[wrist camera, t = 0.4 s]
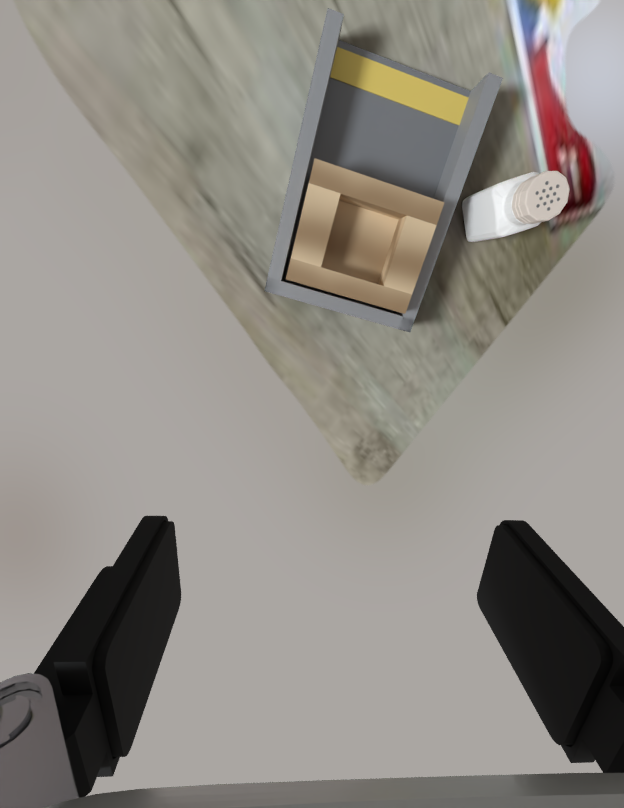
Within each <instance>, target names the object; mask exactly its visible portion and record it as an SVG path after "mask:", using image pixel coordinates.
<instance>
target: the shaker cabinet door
mask: <svg viewBox="0 0 624 808" xmlns="http://www.w3.org/2000/svg"><path fill="white" fill-rule="evenodd" d="M444 203H445V202H442V201H439V200H436V199H433V198H430V197H427V196H424V195H421V194H418V193H415V192H412V191H409V190H406V189H404V188H401V187H398V186H395V185H392V184H389V183H386V182H383V181H380V180H377V179H374V178H371V177H368V176H365V175H362V174H360V173H357V172H354V171H351V170H348V169H345V168H342V167H339V166H336V165H333V164H330V163H327V162H324V161H321V160H318V159H316V158H315V159H314V163H313V167H312V171H311V176H310V180H309V184H308V188H307V192H306V196H305V201H304V205H303V209H302V213H301V217H300V222H299V226H298V230H297V234H296V238H295V242H294V247H293V251H292V255H291V259H290V263H289V267H288V272H287V276H286V279H287V280H290V281H294V282H297V283H300V284H304V285H307V286H311V287H314V288H318V289H321V290H325V291H328V292H331V293H335V294H338V295H342V296H345V297H349V298H352V299H355V300H359V301H362V302H366V303H369V304H373V305H376V306H379V307H383V308H386V309H390V310H393V311H397V312H400V313H404V314H405V313H406V310H407V308H408V305H409V302H410V299H411V296H412V293H413V291H414V288H415V285H416V282H417V279H418V276H419V274H420V271H421V268H422V265H423V262H424V260H425V257H426V254H427V251H428V248H429V245H430V243H431V240H432V237H433V234H434V231H435V228H436V226H437V223H438V220H439V217H440V214H441V211H442V209H443V206H444Z"/></svg>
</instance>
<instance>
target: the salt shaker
mask: <svg viewBox="0 0 624 808" xmlns="http://www.w3.org/2000/svg"><path fill="white" fill-rule="evenodd" d="M569 190H570V188H569V185H568V182H567V179H566V177H565V176H563V175H562V174H561V173H559V172H558V171H545V172H542V173H540V174H539V173H536V172H531V173H528V174H524V175H521V176H518V177H515V178H512V179H509V180H507V181H504V182H501V183H498V184H496V185H493V186H491V187H489V188H486V189H484V190H482V191H480V192H477V193H475V194H473V195H471V196H468V197H467V198H465V199H464V200H463V202H462V211H463V218H464V225H465V232H466V238H467V240H468V241H469V242H477V241H483V240H489V239H495V238H500V237H505V236H508V235H512V234H515V233H518V232H521V231H524V230H527V229H530V228H533V227H536V226H538V225H539V224H540V223H541V222H544V221H549V220H550V219H552V218H553V217H555V216H557V215H558V214H560V212H561V211H562V209H563V208H564V206H565V205H566V203H567V201H568V196H569Z"/></svg>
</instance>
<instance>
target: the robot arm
mask: <svg viewBox="0 0 624 808" xmlns="http://www.w3.org/2000/svg"><path fill="white" fill-rule="evenodd" d="M179 578H180V577H179V567H178V558H177V547H176V536H175V526H174V522H169V521H168V519H167V517H166V516H144V517H143V518H142V520H141V521H140V523H139V525H138V526H137V528H136V530H135V531H134V533H133V535H132V536H131V538H130V539H129V541H128V542H127V544H126V546H125V547H124V549H123V551H122V552H121V554H120V555H119V557H118V559H117V560H116V562H115V564H114V565H113V566H111V567H110V566H109V567H108V566H107V567H105V568H103V569H102V570H101V572H100V573H99V574H98V576H97V577H96V579H95V580H94V582H93V583H92V585H91V586H90V588H89V589H88V591H87V593H86V594H85V596H84V597H83V599H82V600H81V602H80V603H79V605H78V607H77V608H76V610H75V611H74V613H73V614H72V616H71V617H70V619H69V620H68V622H67V623H66V625H65V626H64V628H63V630H62V631H61V633H60V634H59V636H58V637H57V639H56V640H55V642H54V643H53V645H52V646H51V648H50V650H49V651H48V653H47V654H46V656H45V657H44V659H43V660H42V662H41V663H40V665H39V666H38V668H37V670H36V671H35V673H34V674H32V673H27V674H23V675H18V676H14V677H12V678H9V679H7V680H5V681H2V682H0V808H624V627H623V626H622V625H621V623H620V622H619V621H618V620H617V619H616V618H615V617H614V616H613V615H612V614H611V613H610V612H609V611H608V609H607V608H606V607H605V606H604V605H603V604H602V603H601V602H600V601H599V600H598V599H597V598H596V596H595V595H594V594H593V593H592V592H591V591H590V590H589V589H588V588H587V587H586V586H585V585H584V584H583V583H582V581H581V580H580V579H579V578H578V577H577V576H576V575H575V574H574V573H573V572H572V571H571V570H570V568H569V567H568V566H567V565H566V564H565V563H564V562H563V561H562V560H561V559H560V558H559V557H558V556H557V554H555V552H554V551H553V550H552V549H551V548H550V547H549V546H548V545H547V544H546V543H545V541H544V540H543V539H542V538H541V537H540V536H539V535H538V534H537V533H536V532H535V531H534V530H533V529H532V527H531V526H530V525H529V524H528V523H527V522H525V521H516V520H515V521H514V520H505V521H502V522H501V524H500V525H499V526H496V528H495V530H494V534H493V537H492V541H491V545H490V548H489V553H488V556H487V560H486V563H485V567H484V570H483V574H482V578H481V581H480V585H479V589H478V592H477V600H478V604H479V607H480V609H481V611H482V613H483V614H484V616H485V618H486V620H487V621H488V624H489V625H490V627H491V629H492V631H493V633H494V634H495V636H496V638H497V640H498V642H499V643H500V645H501V647H502V649H503V651H504V653H505V654H506V656H507V658H508V660H509V662H510V663H511V665H512V667H513V669H514V670H515V672H516V674H517V676H518V678H519V680H520V682H521V683H522V685H523V687H524V689H525V691H526V692H527V694H528V696H529V698H530V699H531V701H532V703H533V705H534V707H535V709H536V711H537V712H538V714H539V716H540V718H541V720H542V721H543V723H544V725H545V727H546V729H547V730H548V732H549V734H550V735H551V737H552V739H553V740H554V741H555V742H556V743H557V744H558V745H561V746H562V748H563V750H564V751H565V753H566V755H567V757H568V759H569V760H570V762H571V763H582V762H594V761H595V760H596V762H597V763H598V765H599V766H600V768H601V770H602V771H603V773H565V774H564V773H563V774H529V775H528V774H523V775H482V776H452V777H451V776H449V777H414V778H383V779H355V780H354V779H351V780H322V781H296V782H272V783H271V782H270V783H244V784H217V785H200V786H184V787H167V788H150V789H136V790H127V791H119V792H111V793H102V794H95V795H90V796H86V795H87V794H88V793H90V792H91V790H92V787H93V785H94V783H95V780H96V777H104V776H105V777H107V776H113V774H114V772H115V769H116V766H117V763H118V760H119V758H120V757H125V756H127V754H128V753H129V751H130V748H131V746H132V743H133V740H134V737H135V735H136V732H137V729H138V726H139V723H140V720H141V717H142V714H143V711H144V708H145V706H146V703H147V700H148V697H149V694H150V691H151V688H152V685H153V682H154V679H155V676H156V674H157V671H158V668H159V665H160V662H161V659H162V656H163V653H164V650H165V647H166V645H167V642H168V639H169V636H170V633H171V630H172V626H173V624H174V621H175V618H176V615H177V612H178V609H179V606H180V601H181V588H180V579H179ZM85 796H86V797H85Z"/></svg>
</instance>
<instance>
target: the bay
mask: <svg viewBox="0 0 624 808" xmlns="http://www.w3.org/2000/svg"><path fill="white" fill-rule="evenodd" d="M343 16H344V14H342V13H339V12H337V11H334V10H332V9H329V8H328V9H327V14H326V18H325V23H324V27H323V32H322V36H321V41H320V45H319V49H318V54H317V58H316V63H315V67H314V72H313V76H312V81H311V85H310V90H309V94H308V99H307V103H306V108H305V112H304V117H303V121H302V126H301V130H300V135H299V139H298V143H297V148H296V152H295V157H294V161H293V166H292V170H291V175H290V179H289V184H288V188H287V193H286V197H285V202H284V206H283V211H282V215H281V220H280V224H279V228H278V233H277V237H276V242H275V246H274V251H273V255H272V260H271V264H270V269H269V273H268V278H267V282H266V287H265V291H266V292H270V293H273V294H277V295H280V296H284V297H287V298H291V299H294V300H298V301H301V302H305V303H308V304H312V305H316V306H319V307H323V308H326V309H330V310H333V311H337V312H340V313H344V314H347V315H351V316H354V317H358V318H361V319H365V320H368V321H372V322H375V323H379V324H382V325H386V326H389V327H393V328H396V329H400V330H403V331H407V332H411V329H412V326H413V323H414V321H415V318H416V315H417V312H418V310H419V307H420V304H421V301H422V299H423V296H424V293H425V290H426V288H427V285H428V282H429V279H430V277H431V274H432V271H433V268H434V266H435V263H436V260H437V257H438V255H439V252H440V249H441V246H442V244H443V241H444V238H445V235H446V233H447V230H448V227H449V225H450V222H451V219H452V216H453V214H454V211H455V208H456V205H457V203H458V200H459V197H460V194H461V192H462V189H463V186H464V183H465V181H466V178H467V175H468V172H469V170H470V167H471V164H472V161H473V159H474V156H475V153H476V150H477V148H478V145H479V142H480V139H481V137H482V134H483V131H484V128H485V126H486V123H487V120H488V117H489V115H490V112H491V109H492V107H493V104H494V101H495V98H496V96H497V93H498V90H499V87H500V85H501V82H502V79H503V78H502V77H499V76H497V75H494V74H492V73H488V74H487V75H486V76H485V77H484V78H483V79H482V80H481V81H480V82H479V83H478V84H477V85H476V86H475V87H474V88H473V89H472V90H471V91H469V90H466V89H464V88H461V87H459V86H456V85H454V84H451V83H448V82H446V81H443V80H441V79H438V78H436V77H433V76H431V75H428V74H425V73H423V72H420V71H418V70H415V69H413V68H410V67H407V66H405V65H402V64H400V63H397V62H395V61H392V60H390V59H387V58H384V57H382V56H379V55H377V54H374V53H372V52H369V51H366V50H364V49H361V48H359V47H356V46H354V45H351V44H349V43H346V42H343V41H341V40H339V37H340V32H341V26H342V21H343ZM315 158H316V159H318V160H321V161H324V162H327V163H330V164H333V165H336V166H339V167H342V168H345V169H348V170H351V171H354V172H357V173H360V174H362V175H365V176H368V177H371V178H374V179H377V180H380V181H383V182H386V183H389V184H392V185H395V186H398V187H401V188H404V189H406V190H409V191H412V192H415V193H418V194H421V195H424V196H427V197H430V198H433V199H436V200H439V201H442V202H445V203H444V206H443V209H442V211H441V214H440V217H439V220H438V223H437V226H436V228H435V231H434V234H433V237H432V240H431V243H430V245H429V248H428V251H427V254H426V257H425V260H424V262H423V265H422V268H421V271H420V274H419V276H418V279H417V282H416V285H415V288H414V291H413V293H412V296H411V299H410V302H409V305H408V308H407V310H406V313H405V314H404V313H400V312H397V311H393V310H390V309H386V308H383V307H379V306H376V305H373V304H369V303H366V302H362V301H359V300H355V299H352V298H349V297H345V296H342V295H338V294H335V293H331V292H328V291H325V290H321V289H318V288H314V287H311V286H307V285H304V284H300V283H297V282H294V281H290V280H287V279H286V276H287V272H288V267H289V263H290V259H291V255H292V251H293V247H294V242H295V238H296V234H297V230H298V226H299V222H300V217H301V213H302V209H303V205H304V201H305V196H306V192H307V188H308V184H309V180H310V176H311V171H312V167H313V163H314V159H315Z"/></svg>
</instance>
